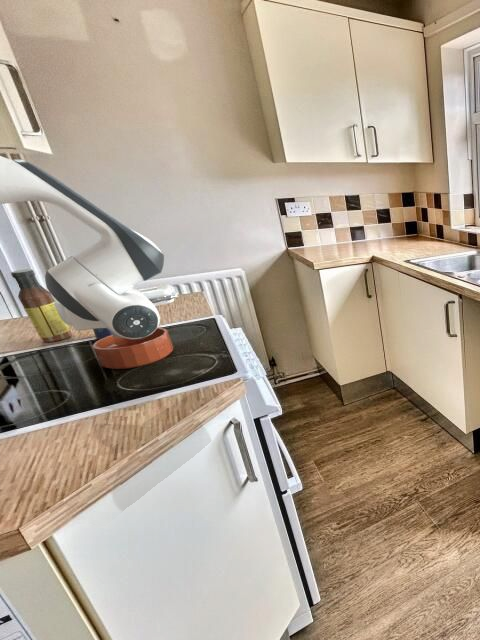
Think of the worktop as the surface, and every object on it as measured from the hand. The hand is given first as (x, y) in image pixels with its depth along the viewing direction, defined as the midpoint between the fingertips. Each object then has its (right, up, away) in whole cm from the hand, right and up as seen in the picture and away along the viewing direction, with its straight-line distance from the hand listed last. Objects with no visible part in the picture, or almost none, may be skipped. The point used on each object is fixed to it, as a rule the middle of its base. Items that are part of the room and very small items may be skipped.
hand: (114, 295), depth 101 cm
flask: (-20, -10, +19) cm, 29 cm away
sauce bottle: (-34, -11, +19) cm, 40 cm away
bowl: (+1, -15, +6) cm, 16 cm away
